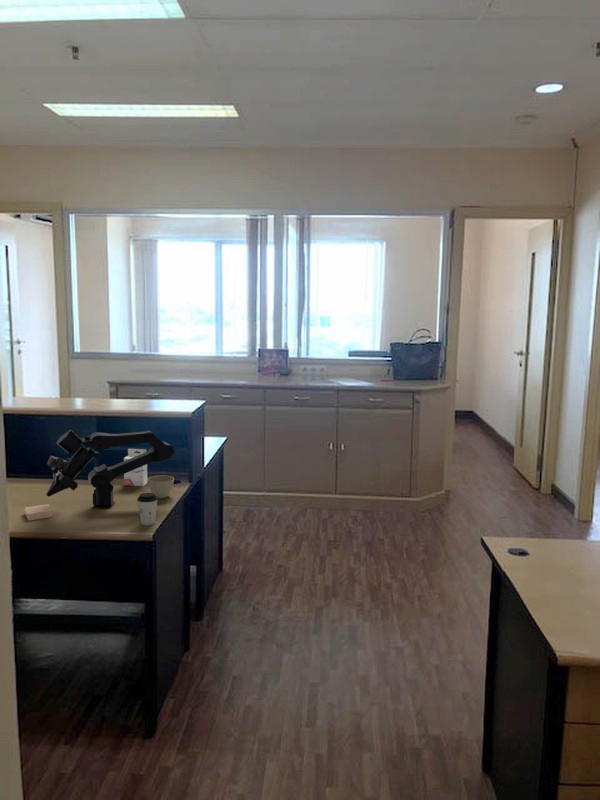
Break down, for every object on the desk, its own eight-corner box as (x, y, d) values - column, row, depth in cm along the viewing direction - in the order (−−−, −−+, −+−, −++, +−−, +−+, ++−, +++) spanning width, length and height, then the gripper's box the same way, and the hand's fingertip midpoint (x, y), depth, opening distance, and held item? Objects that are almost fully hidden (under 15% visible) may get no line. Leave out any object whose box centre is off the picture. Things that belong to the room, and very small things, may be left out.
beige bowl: (171, 500, 233) (171, 482, 232) (145, 500, 233) (144, 482, 232) (176, 492, 243) (176, 475, 242) (151, 492, 243) (151, 475, 242)
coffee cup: (160, 519, 212) (159, 491, 210) (156, 526, 205) (155, 497, 203) (140, 519, 212) (139, 491, 210) (135, 526, 205) (134, 497, 203)
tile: (48, 504, 220) (24, 507, 215) (52, 510, 213) (27, 514, 209) (49, 511, 220) (25, 514, 216) (53, 517, 213) (28, 521, 209)
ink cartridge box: (123, 485, 252) (122, 451, 249) (128, 482, 256) (127, 448, 254) (143, 486, 251) (143, 451, 249) (148, 483, 256) (147, 449, 253)
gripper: (56, 442, 223) (25, 475, 219) (66, 453, 208) (33, 488, 204) (79, 461, 229) (49, 493, 224) (91, 472, 213) (58, 508, 209)
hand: (47, 495), depth 215 cm, fingers closed
